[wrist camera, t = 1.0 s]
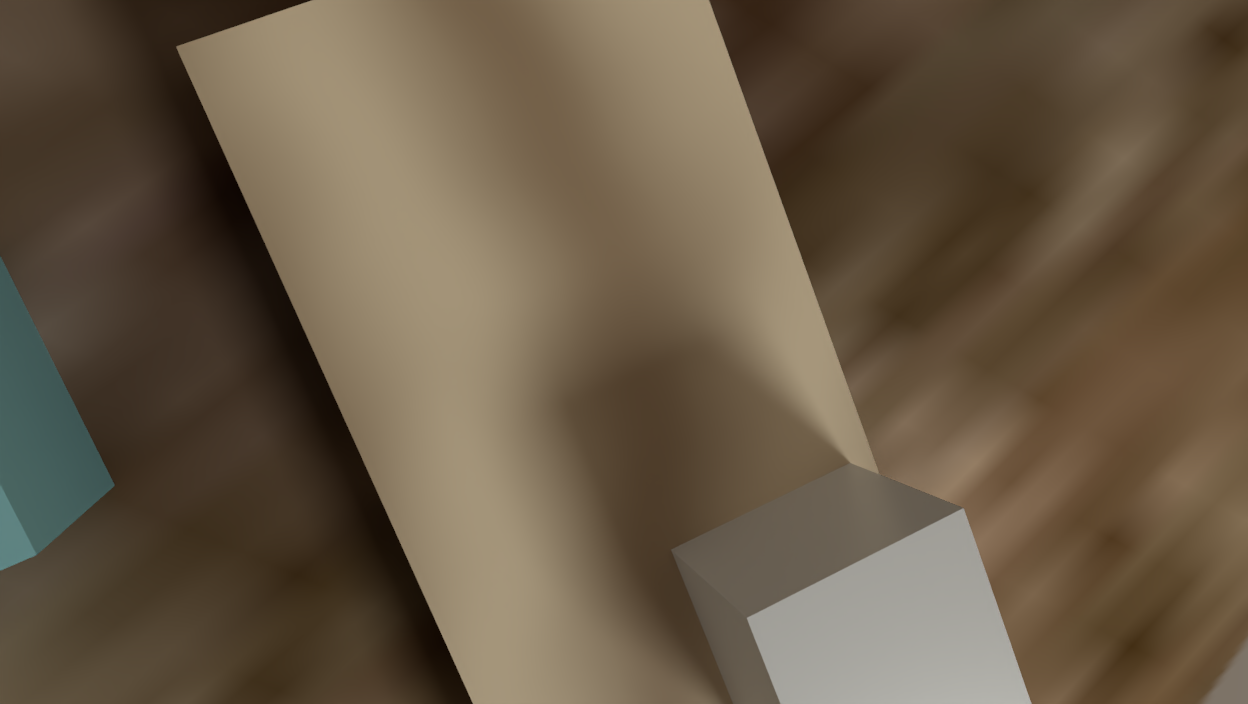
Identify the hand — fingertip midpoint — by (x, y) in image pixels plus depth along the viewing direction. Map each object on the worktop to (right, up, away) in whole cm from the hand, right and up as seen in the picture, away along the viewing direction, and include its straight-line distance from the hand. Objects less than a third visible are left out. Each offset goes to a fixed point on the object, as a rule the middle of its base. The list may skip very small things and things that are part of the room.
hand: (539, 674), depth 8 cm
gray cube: (+4, -2, +12) cm, 13 cm away
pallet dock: (0, +2, +13) cm, 14 cm away
